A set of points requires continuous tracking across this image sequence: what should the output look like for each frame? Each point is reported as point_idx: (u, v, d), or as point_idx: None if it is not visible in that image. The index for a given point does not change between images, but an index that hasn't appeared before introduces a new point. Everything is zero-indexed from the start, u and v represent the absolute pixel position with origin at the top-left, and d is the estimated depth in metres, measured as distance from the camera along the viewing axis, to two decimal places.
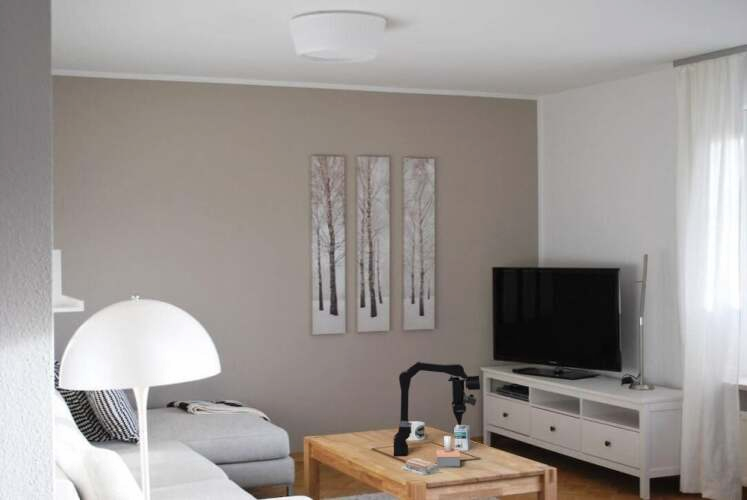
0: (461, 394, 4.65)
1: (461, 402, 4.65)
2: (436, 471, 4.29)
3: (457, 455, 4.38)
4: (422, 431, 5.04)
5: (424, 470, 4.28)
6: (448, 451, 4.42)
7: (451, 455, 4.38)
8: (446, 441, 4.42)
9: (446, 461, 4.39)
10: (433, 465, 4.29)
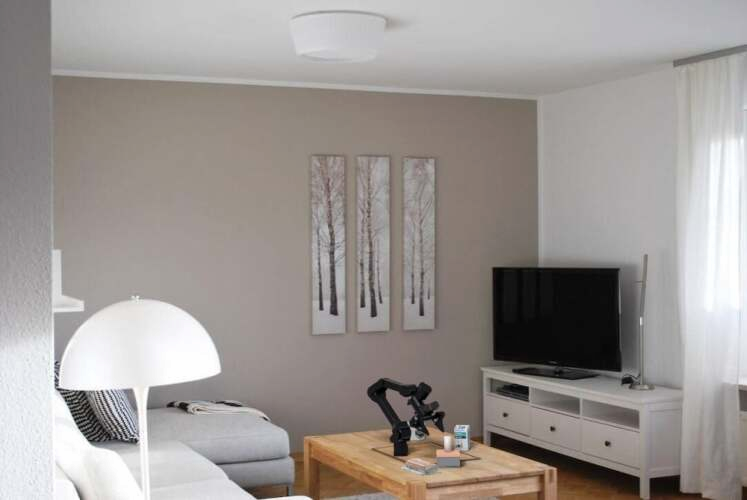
0: (418, 408, 4.55)
1: (422, 415, 4.53)
2: (435, 471, 4.29)
3: (457, 455, 4.38)
4: None
5: (423, 470, 4.28)
6: (448, 451, 4.42)
7: (451, 455, 4.38)
8: (446, 441, 4.42)
9: (446, 461, 4.39)
10: (432, 465, 4.28)
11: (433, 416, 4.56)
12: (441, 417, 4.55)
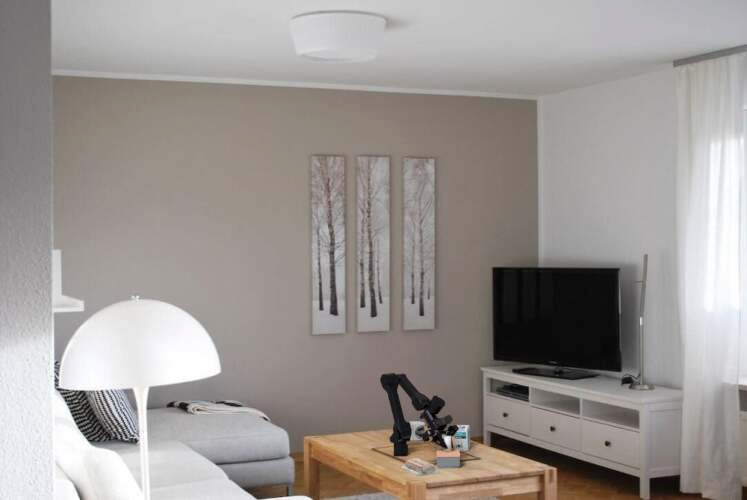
0: (431, 422, 4.48)
1: (435, 429, 4.46)
2: (432, 472, 4.28)
3: (457, 455, 4.38)
4: (422, 431, 5.04)
5: (420, 470, 4.28)
6: (448, 451, 4.42)
7: (451, 455, 4.38)
8: (446, 441, 4.42)
9: (446, 461, 4.39)
10: (429, 466, 4.28)
11: None
12: (450, 432, 4.47)
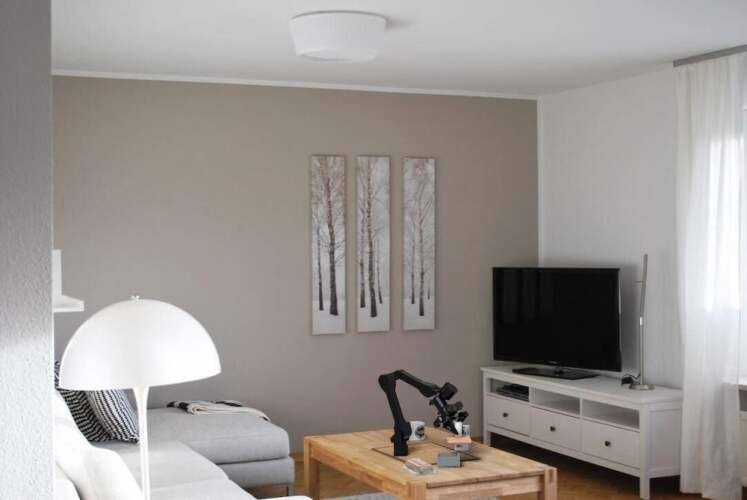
0: (442, 408, 4.51)
1: (446, 415, 4.49)
2: (430, 472, 4.28)
3: (468, 441, 4.42)
4: (422, 431, 5.04)
5: (417, 470, 4.28)
6: (459, 437, 4.46)
7: (462, 441, 4.42)
8: (457, 427, 4.46)
9: (446, 461, 4.39)
10: (427, 466, 4.28)
11: None
12: (460, 418, 4.50)
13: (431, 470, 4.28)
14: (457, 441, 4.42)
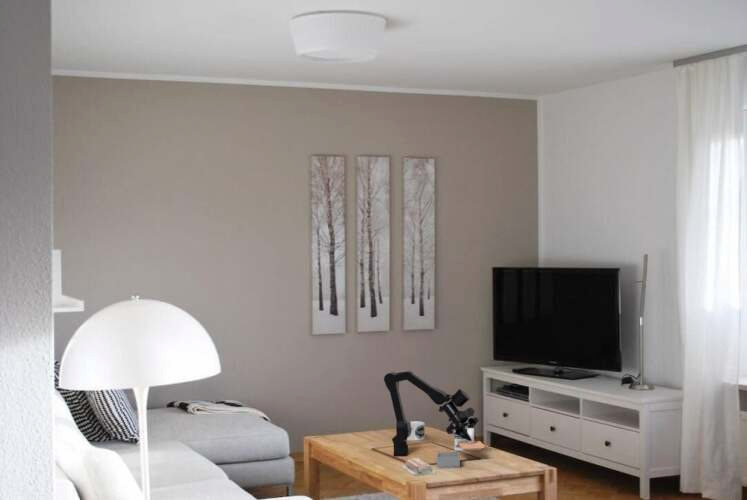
0: (453, 415, 4.58)
1: (458, 421, 4.56)
2: (429, 472, 4.27)
3: (481, 446, 4.50)
4: (422, 431, 5.04)
5: (416, 470, 4.28)
6: (471, 443, 4.53)
7: (476, 446, 4.50)
8: (470, 433, 4.53)
9: (446, 461, 4.39)
10: (425, 466, 4.27)
11: None
12: (472, 424, 4.58)
13: (430, 470, 4.28)
14: (471, 447, 4.49)
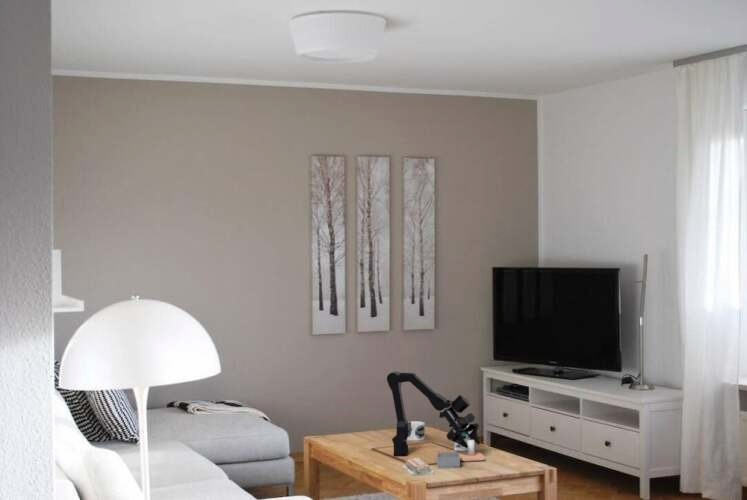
0: (454, 421, 4.58)
1: (458, 427, 4.56)
2: (427, 472, 4.27)
3: (482, 458, 4.50)
4: (422, 431, 5.04)
5: (415, 470, 4.28)
6: (472, 454, 4.53)
7: (476, 458, 4.50)
8: (470, 445, 4.53)
9: (446, 461, 4.39)
10: (424, 466, 4.27)
11: (467, 428, 4.61)
12: (476, 429, 4.60)
13: (428, 470, 4.28)
14: (471, 459, 4.49)
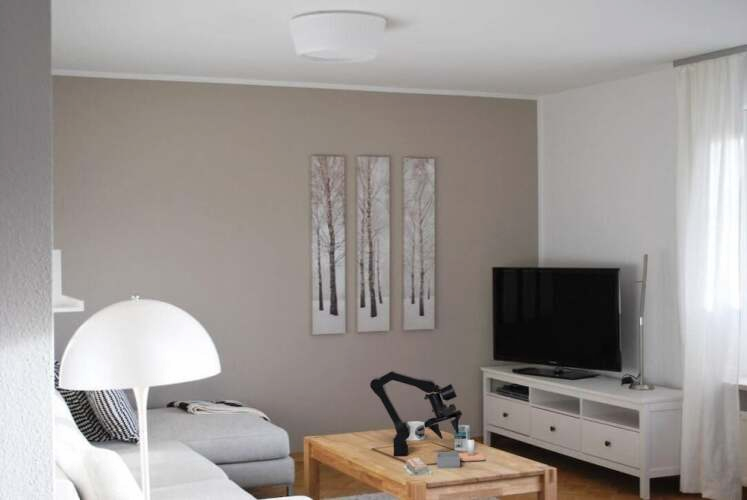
0: (435, 408, 4.63)
1: (438, 416, 4.62)
2: (425, 472, 4.27)
3: (482, 458, 4.50)
4: (422, 431, 5.04)
5: (413, 470, 4.28)
6: (472, 454, 4.53)
7: (476, 458, 4.50)
8: (470, 445, 4.53)
9: (446, 461, 4.39)
10: (422, 466, 4.27)
11: (450, 416, 4.65)
12: (457, 418, 4.64)
13: (426, 471, 4.27)
14: (471, 459, 4.49)
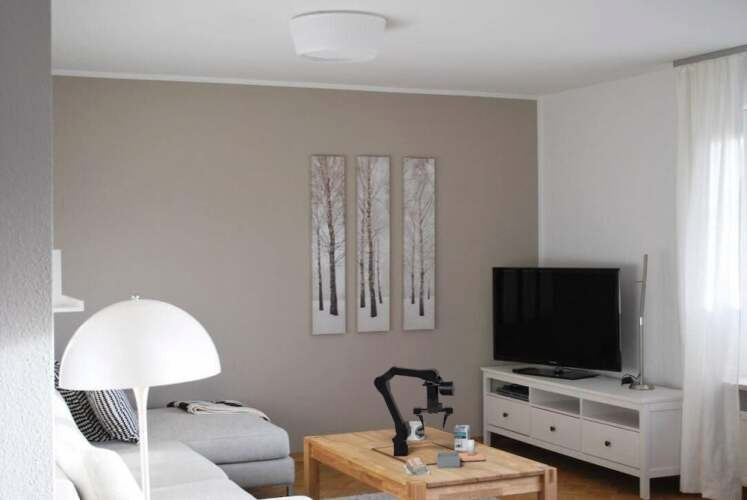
0: (427, 399, 4.63)
1: (427, 407, 4.63)
2: (423, 473, 4.27)
3: (482, 458, 4.50)
4: (422, 431, 5.04)
5: (411, 470, 4.28)
6: (472, 454, 4.53)
7: (476, 458, 4.50)
8: (470, 445, 4.53)
9: (446, 461, 4.39)
10: (420, 466, 4.27)
11: (441, 409, 4.64)
12: (445, 415, 4.61)
13: (424, 471, 4.27)
14: (471, 459, 4.49)
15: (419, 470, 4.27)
